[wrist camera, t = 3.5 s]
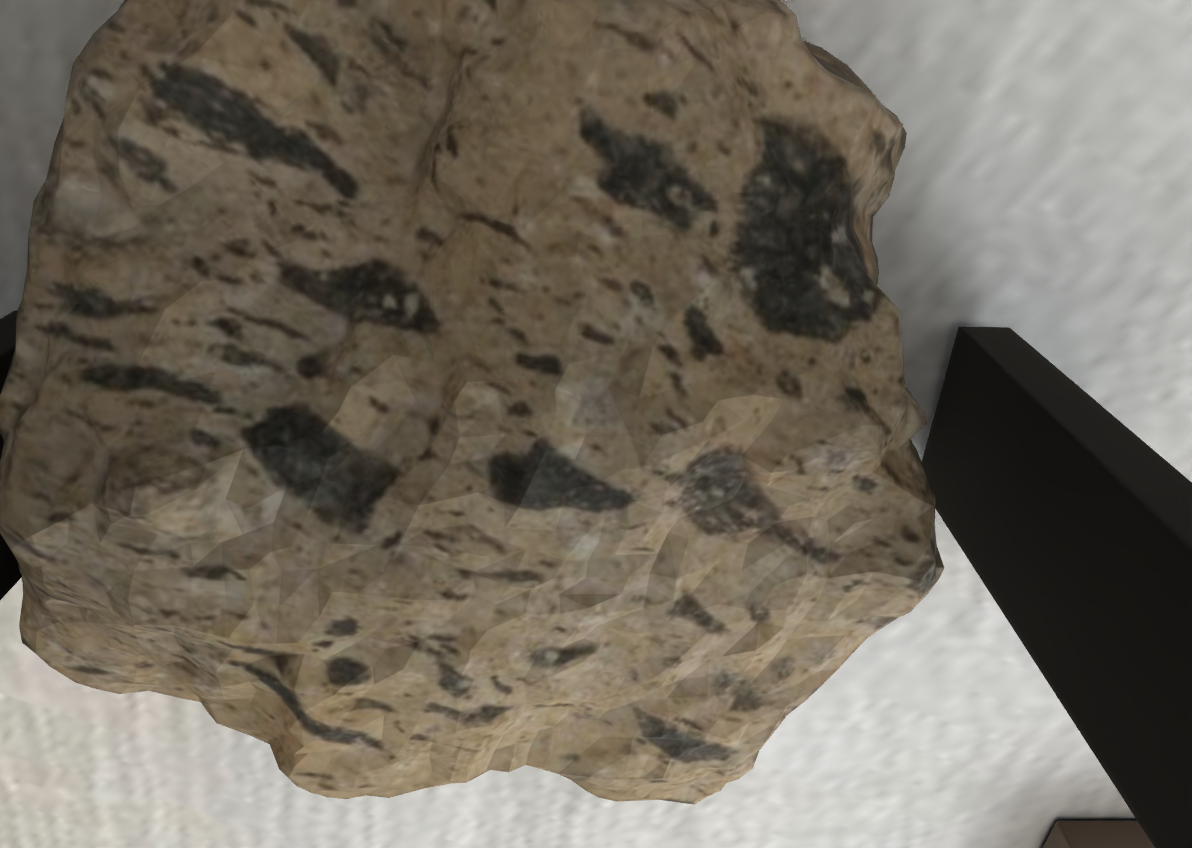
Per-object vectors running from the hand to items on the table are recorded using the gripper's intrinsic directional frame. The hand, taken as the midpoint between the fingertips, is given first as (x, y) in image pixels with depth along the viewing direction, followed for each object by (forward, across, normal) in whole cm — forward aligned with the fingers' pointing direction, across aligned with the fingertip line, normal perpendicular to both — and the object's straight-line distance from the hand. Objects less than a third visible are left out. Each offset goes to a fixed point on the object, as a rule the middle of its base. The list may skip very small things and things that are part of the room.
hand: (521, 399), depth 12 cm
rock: (0, 0, 0) cm, 0 cm away
